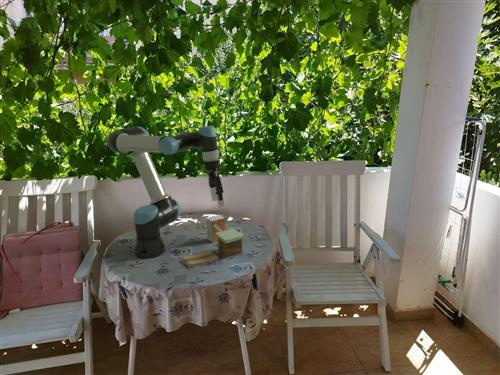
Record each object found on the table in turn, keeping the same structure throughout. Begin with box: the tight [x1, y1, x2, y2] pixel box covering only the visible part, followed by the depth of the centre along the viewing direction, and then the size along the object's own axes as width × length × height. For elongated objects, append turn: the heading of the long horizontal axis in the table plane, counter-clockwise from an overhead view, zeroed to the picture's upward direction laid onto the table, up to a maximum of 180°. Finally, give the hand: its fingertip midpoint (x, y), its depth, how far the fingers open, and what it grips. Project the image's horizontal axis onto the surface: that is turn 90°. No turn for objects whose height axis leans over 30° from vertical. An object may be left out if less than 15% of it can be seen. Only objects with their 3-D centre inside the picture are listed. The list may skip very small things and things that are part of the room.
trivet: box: [182, 249, 219, 269], centre depth 187 cm, size 10×14×2 cm
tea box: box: [217, 238, 243, 258], centre depth 191 cm, size 8×9×9 cm
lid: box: [215, 228, 245, 243], centre depth 190 cm, size 11×10×3 cm
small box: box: [205, 214, 226, 244], centre depth 207 cm, size 8×6×13 cm
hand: (218, 203), depth 184 cm, fingers open, 13 cm apart
